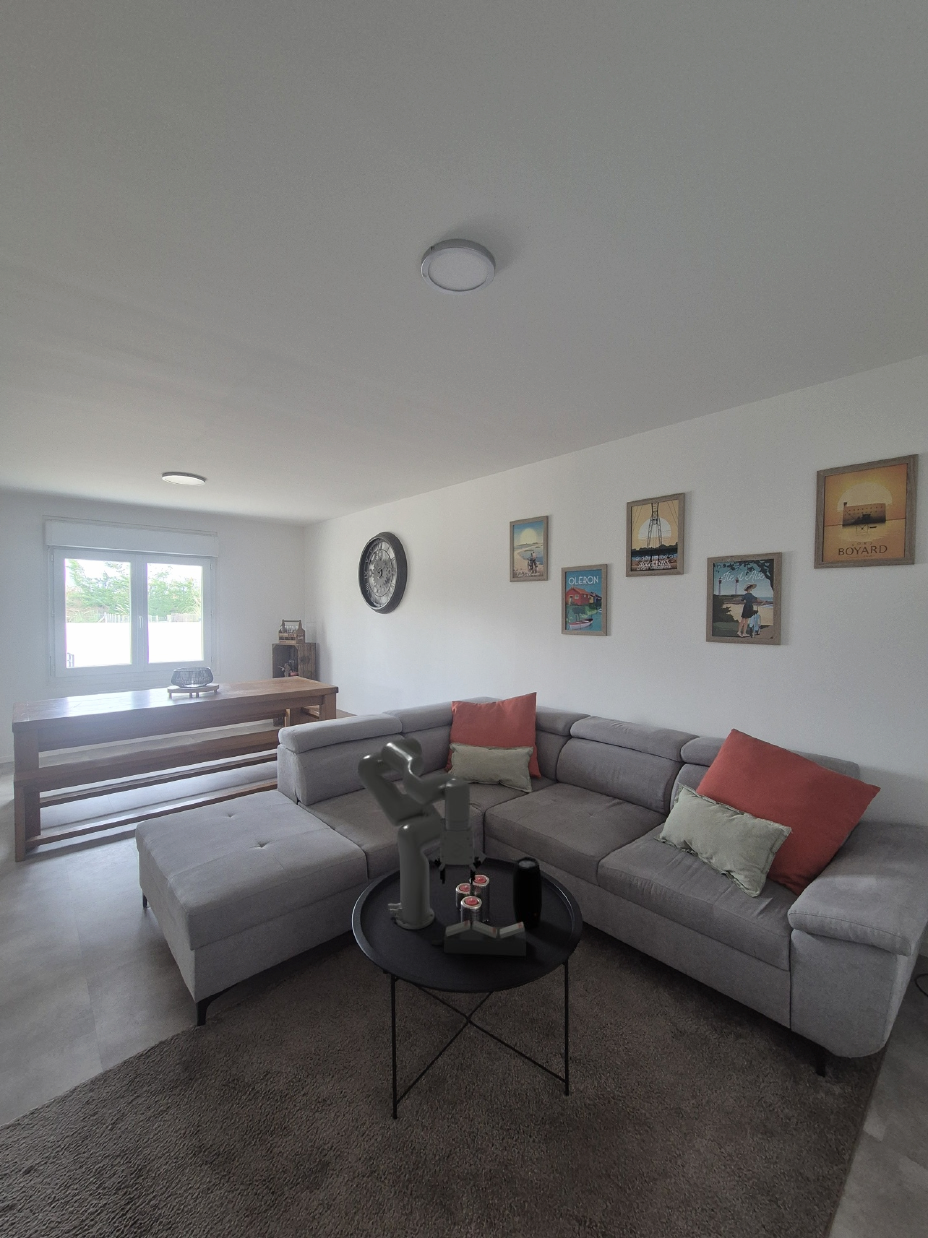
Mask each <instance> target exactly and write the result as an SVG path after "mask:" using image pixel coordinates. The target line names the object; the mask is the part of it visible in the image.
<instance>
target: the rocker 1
mask: <svg viewBox="0 0 928 1238" xmlns="http://www.w3.org/2000/svg"><path fill="white" fill-rule="evenodd" d="M451 925H452V926H449V927H447V928H445V931H446V935H447V936H450V935H453V934H456V933H459V932H462V931H465V930H468V929H470V926H471V921H470V920H469V919H468V920H465V921H462V922H458V923H456V924H451Z"/></svg>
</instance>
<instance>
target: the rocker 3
mask: <svg viewBox="0 0 928 1238" xmlns="http://www.w3.org/2000/svg"><path fill="white" fill-rule="evenodd" d="M504 927H505V928H502V929H500V937H501V938H504V937H507V936H511V935H514V934H517V933H520V932H523V931H524V924H523V922H520V923H517V922H516V923H515V924H512V925H509V926H504Z"/></svg>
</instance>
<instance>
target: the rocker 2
mask: <svg viewBox="0 0 928 1238" xmlns="http://www.w3.org/2000/svg"><path fill="white" fill-rule="evenodd" d="M472 926H473V929H474V930H476V931H479V932H481V933H484V934H486V935H489V936H491V937H494V938H496V936H497V929H495V928H493V927H494V926H493V927H490V925H487V924H485V923H482V922H481V921H477V920H474V921H473V923H472Z"/></svg>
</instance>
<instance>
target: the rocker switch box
mask: <svg viewBox="0 0 928 1238" xmlns="http://www.w3.org/2000/svg"><path fill="white" fill-rule="evenodd" d="M452 925H453V924H446V925H445V926H446V928H447V927H449V926H452ZM489 926H490V925H489ZM490 927H493V928H495V929H497V936H496V938H494V937H491V936H489V935H486V934H484V933H481V932H479V931H476V930H474V929H473V925H470V929H468V930H465V931H462V932H459V933H456V934H453V935H450V936H447V935H446V930H445V932H444V937H443V940H434V939H433V940H432V941H431V945H432V946H443V953H445V954H462V955H463V954H465V955H468V954H469V955H491V956H492V955H493V956H494V955H495V956H516V957H517V956H520V957H526V956H527V940H526V939H527V938H526V929H525V928H524V931H523V932H520V933H517V934H514V935H511V936H507V937H504V938H501V937H500V929H502V928H505V927H506V926H490ZM446 928H445V929H446Z"/></svg>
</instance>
